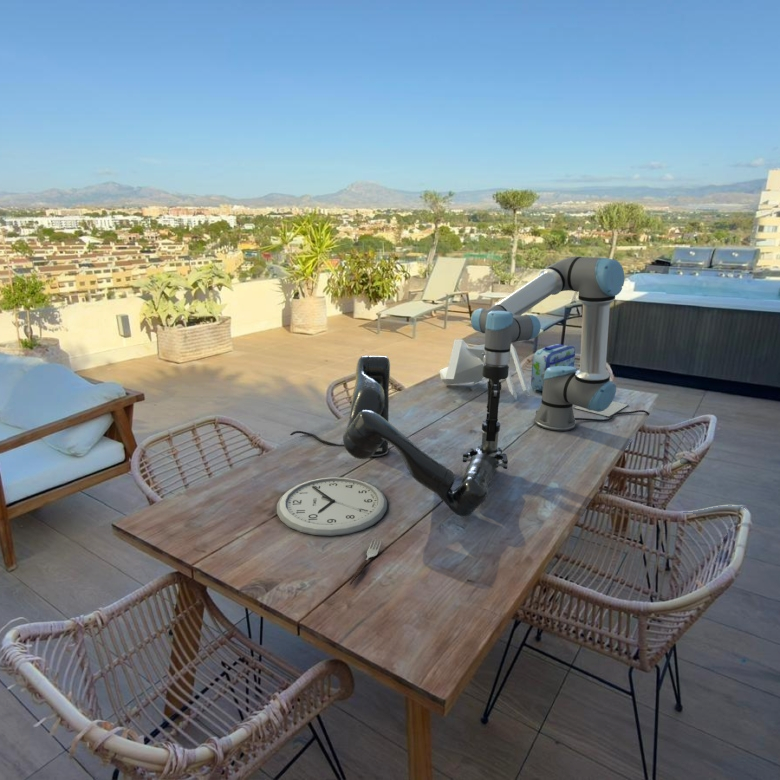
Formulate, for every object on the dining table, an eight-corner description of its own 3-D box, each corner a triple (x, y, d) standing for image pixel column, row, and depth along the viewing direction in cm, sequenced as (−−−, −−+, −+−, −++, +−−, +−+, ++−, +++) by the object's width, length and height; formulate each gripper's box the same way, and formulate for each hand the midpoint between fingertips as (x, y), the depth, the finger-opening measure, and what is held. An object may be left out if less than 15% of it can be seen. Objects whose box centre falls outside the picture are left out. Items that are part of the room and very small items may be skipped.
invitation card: (608, 416, 214) (573, 407, 224) (608, 416, 214) (573, 408, 224) (628, 404, 229) (594, 396, 238) (628, 405, 229) (594, 397, 238)
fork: (344, 585, 111) (344, 577, 110) (372, 544, 125) (372, 537, 125) (355, 588, 110) (355, 580, 109) (382, 546, 124) (382, 539, 124)
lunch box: (547, 396, 238) (552, 351, 232) (526, 391, 246) (531, 347, 239) (574, 385, 256) (579, 343, 250) (554, 380, 263) (559, 340, 257)
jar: (479, 473, 163) (482, 427, 158) (479, 466, 167) (483, 422, 163) (495, 475, 162) (499, 429, 157) (495, 468, 167) (499, 423, 162)
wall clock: (392, 527, 129) (268, 531, 127) (391, 533, 130) (269, 537, 127) (383, 473, 158) (282, 475, 155) (383, 478, 158) (282, 480, 156)
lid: (501, 433, 158) (502, 426, 157) (483, 433, 158) (484, 426, 157) (497, 426, 163) (497, 420, 163) (480, 426, 163) (480, 420, 162)
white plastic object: (461, 429, 252) (437, 405, 227) (444, 352, 274) (420, 323, 250) (535, 404, 240) (518, 377, 215) (510, 326, 262) (492, 293, 237)
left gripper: (455, 478, 153) (467, 456, 169) (504, 487, 149) (512, 463, 164) (456, 455, 151) (468, 434, 166) (506, 463, 147) (514, 441, 162)
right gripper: (482, 356, 164) (477, 425, 170) (484, 371, 146) (478, 447, 153) (506, 357, 163) (500, 427, 170) (511, 372, 145) (504, 449, 152)
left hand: (490, 449), depth 165 cm, fingers closed on jar, 5 cm apart
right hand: (490, 436), depth 161 cm, fingers closed on lid, 5 cm apart
